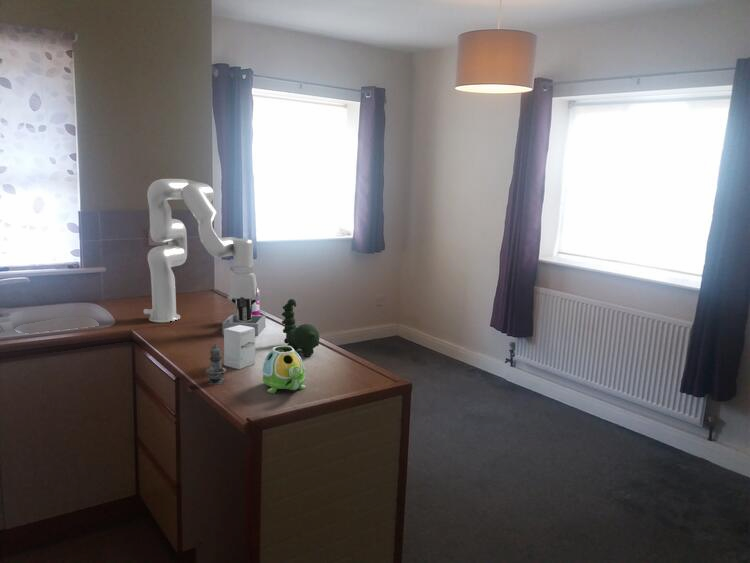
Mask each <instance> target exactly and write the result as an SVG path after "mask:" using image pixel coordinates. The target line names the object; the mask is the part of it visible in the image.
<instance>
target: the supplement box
mask: <svg viewBox="0 0 750 563" xmlns="http://www.w3.org/2000/svg"><path fill="white" fill-rule="evenodd" d="M223 352H224V354H223V356H224V357H223V359H224V361H223V362H224V364H223V365H224V366H225V367H230V368H233V369H237V370H241V369H244V368H247V367H249V366H253V365H255V364H256V336H255V328H253V327H248V326H243V325H237V326H234V327H230V328H226V329H224V335H223Z"/></svg>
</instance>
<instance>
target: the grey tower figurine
mask: <svg viewBox="0 0 750 563" xmlns="http://www.w3.org/2000/svg"><path fill="white" fill-rule="evenodd" d="M222 359H223V357H222V355H221V347H220V346H217V344H216V343H214V346H212V347H211V348H210V357H209V360H210V367H209V368H207V369H206V370H205V372H206V374H207V377H208V378H209V379H208V380H207V381H206V382H207V384H209V385H221V384H224V383H225V382H226V380H225V379H224V378H223V377H224V376H225V374H226V371H227V368H225V367H222Z"/></svg>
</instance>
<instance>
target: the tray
mask: <svg viewBox="0 0 750 563" xmlns="http://www.w3.org/2000/svg"><path fill="white" fill-rule="evenodd" d="M266 324H267V323H266V315H261V314H259V315H252V320H251V321H249V322H245V323H243V322H239V321H238V320H237V314H231V315H229V316H228V317H227V318H226V319H225V320H223V322H222V323H221V327H222V328H221V330H222V335H223V336H224V329H226V328H230V327H234V326H237V325H243V326H248V327H253V328H255V337H258V336H260V334H261V333H262V332H263V330H264V329H265V328H266V327H267V326H266Z"/></svg>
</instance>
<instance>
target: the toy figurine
mask: <svg viewBox="0 0 750 563" xmlns="http://www.w3.org/2000/svg"><path fill="white" fill-rule="evenodd" d="M294 307H295V308H296V307H297V301H296V300H295V299H294V298H289V300H287V302H286V303H285V305H283V306H282V309H283V310H284V311H283V312H282V313H281V316H282V317H284V320H282V321H281V324H282V325H284V328H283V329H282V333H284V334H285V338H284V340H283V342H284V344H286V346H291V347H292V348H293V349H294V351H296V352H297V351H298V350H300V351H301V354H302V356H304V357H310V356H313V354H314V349H315V348H316V347H319V345H320V339H321V338H320V333H319V331H318V329H317V328H316V327H315V326H314V325H312V324H309V323H303V324H300V325H298V326H297V325H296V319H295V311H294Z"/></svg>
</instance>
